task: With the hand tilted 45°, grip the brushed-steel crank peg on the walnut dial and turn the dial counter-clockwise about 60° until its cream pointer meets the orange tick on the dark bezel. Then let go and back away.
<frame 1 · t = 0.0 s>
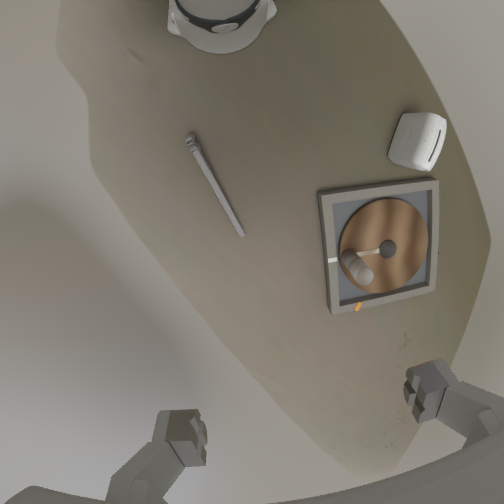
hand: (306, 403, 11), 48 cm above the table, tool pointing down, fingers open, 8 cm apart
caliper: (217, 185, 56), on the table
photo printer: (401, 138, 54), on the table
dial: (395, 256, 55), point 7 cm above the table, hinge at 0.0°
dial base: (381, 243, 61), on the table
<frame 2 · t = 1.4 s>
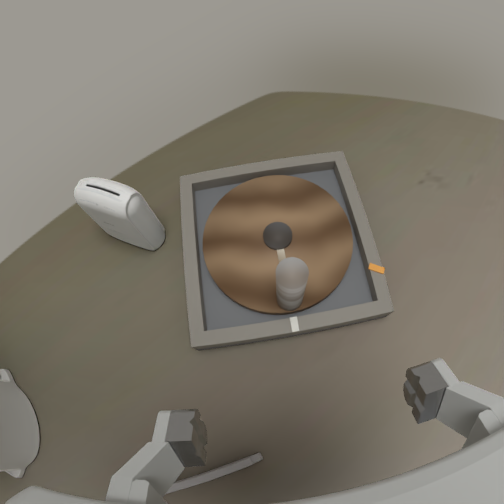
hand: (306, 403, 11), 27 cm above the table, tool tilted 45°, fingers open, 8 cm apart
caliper: (186, 479, 33), on the table
photo printer: (136, 233, 46), on the table
dial: (277, 222, 37), point 7 cm above the table, hinge at 0.0°
dial base: (277, 246, 43), on the table
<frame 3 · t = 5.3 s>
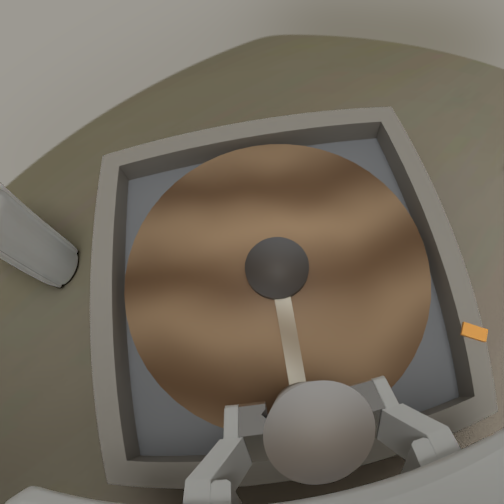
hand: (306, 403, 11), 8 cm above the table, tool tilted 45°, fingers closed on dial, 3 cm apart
photo printer: (41, 255, 25), on the table
dial: (275, 242, 15), point 7 cm above the table, hinge at 0.0°, touching gripper
dial base: (278, 285, 22), on the table
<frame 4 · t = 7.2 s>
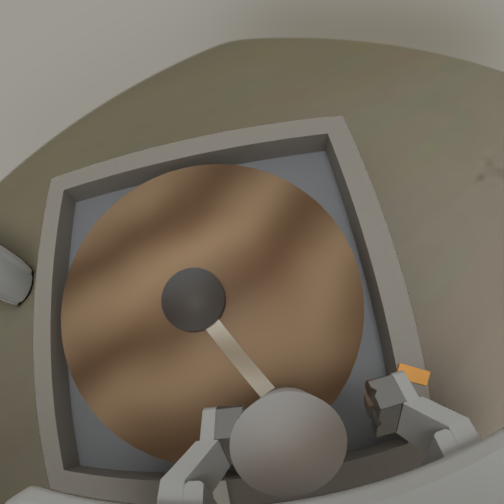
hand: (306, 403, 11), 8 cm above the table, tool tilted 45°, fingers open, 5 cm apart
photo printer: (4, 272, 24), on the table
dial: (174, 281, 15), point 7 cm above the table, hinge at 30.5°, touching gripper
dial base: (206, 312, 21), on the table
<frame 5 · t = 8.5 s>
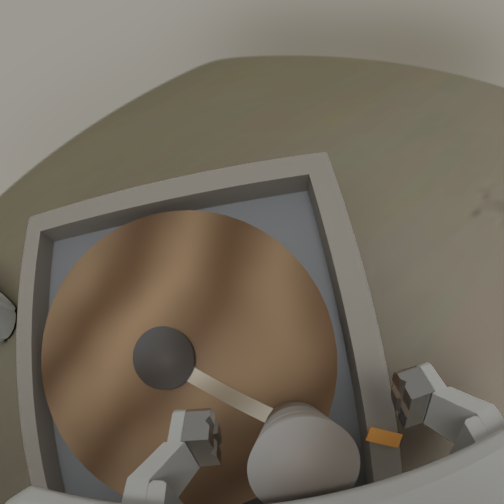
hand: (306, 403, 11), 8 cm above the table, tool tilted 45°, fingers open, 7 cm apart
dial: (138, 351, 14), point 7 cm above the table, hinge at 54.2°
dial base: (181, 362, 20), on the table
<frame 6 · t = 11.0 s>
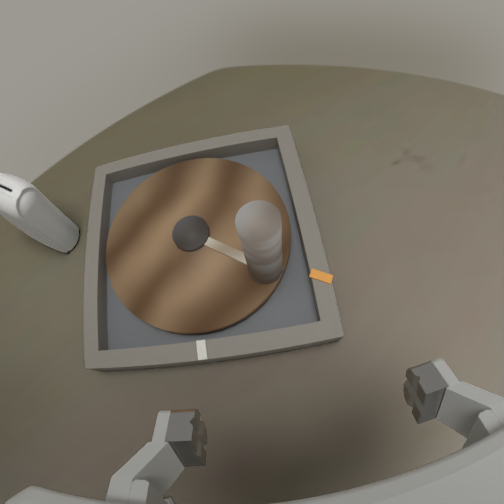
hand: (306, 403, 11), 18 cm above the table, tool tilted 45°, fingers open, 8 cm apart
photo printer: (54, 233, 37), on the table
dial: (180, 216, 28), point 7 cm above the table, hinge at 54.2°
dial base: (198, 247, 34), on the table
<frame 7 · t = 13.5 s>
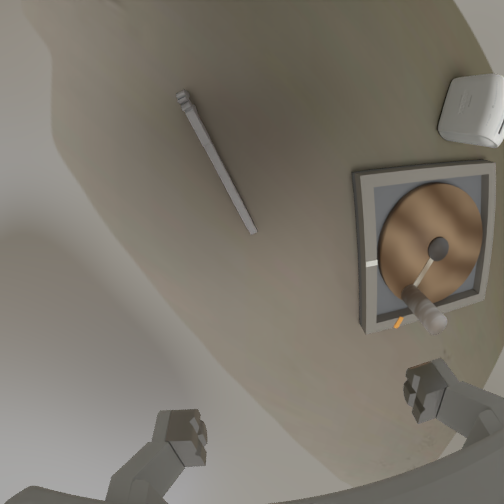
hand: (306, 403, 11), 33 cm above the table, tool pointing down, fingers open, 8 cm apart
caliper: (220, 163, 40), on the table
photo printer: (451, 109, 38), on the table
dial: (450, 257, 39), point 7 cm above the table, hinge at 54.2°
dial base: (427, 241, 45), on the table
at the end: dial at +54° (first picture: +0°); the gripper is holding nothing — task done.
